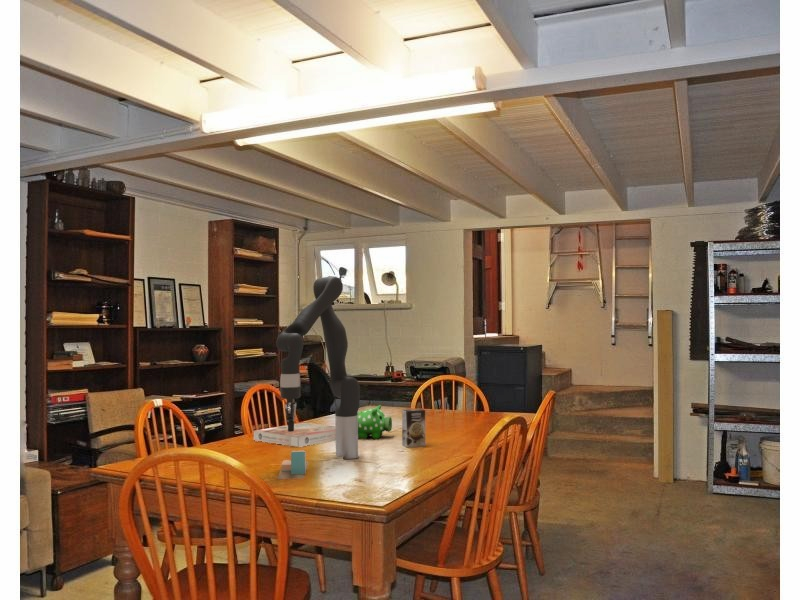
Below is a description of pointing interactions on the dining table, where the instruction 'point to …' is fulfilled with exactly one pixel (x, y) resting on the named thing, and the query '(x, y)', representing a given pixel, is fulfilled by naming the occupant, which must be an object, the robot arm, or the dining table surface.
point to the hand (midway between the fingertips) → (291, 431)
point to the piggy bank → (373, 423)
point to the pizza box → (297, 434)
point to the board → (291, 475)
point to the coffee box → (413, 427)
